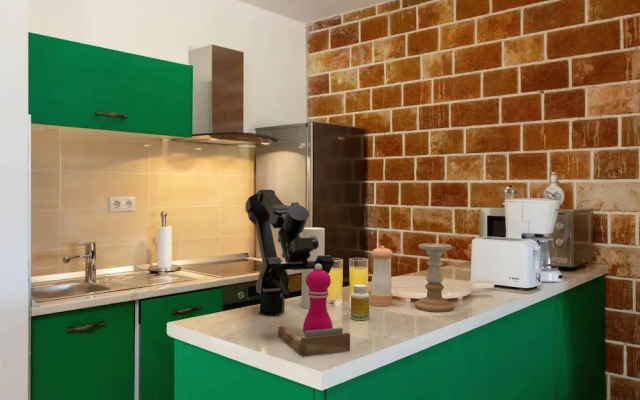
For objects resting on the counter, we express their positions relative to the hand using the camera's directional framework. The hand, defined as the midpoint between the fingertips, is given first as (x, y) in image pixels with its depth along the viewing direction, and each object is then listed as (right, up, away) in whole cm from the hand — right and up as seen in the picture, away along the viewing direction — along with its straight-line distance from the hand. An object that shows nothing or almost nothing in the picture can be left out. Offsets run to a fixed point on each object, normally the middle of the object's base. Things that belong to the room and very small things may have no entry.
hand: (305, 293), depth 139 cm
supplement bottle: (+15, -11, +21) cm, 28 cm away
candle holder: (+40, -11, +36) cm, 55 cm away
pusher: (+5, -12, -11) cm, 17 cm away
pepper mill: (+3, -12, -7) cm, 14 cm away
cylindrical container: (+1, -11, +36) cm, 38 cm away
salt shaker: (+24, -11, +41) cm, 48 cm away
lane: (+1, -12, -4) cm, 12 cm away
